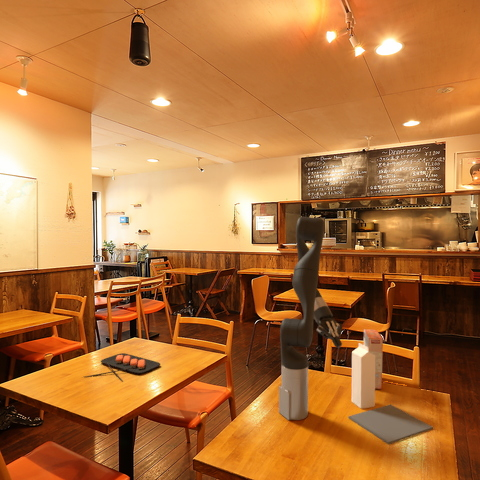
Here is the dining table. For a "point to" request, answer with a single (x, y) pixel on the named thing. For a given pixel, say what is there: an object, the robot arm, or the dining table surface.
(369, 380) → the milk
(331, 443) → the dining table surface
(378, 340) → the cracker box
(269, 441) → the dining table surface
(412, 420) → the mat
